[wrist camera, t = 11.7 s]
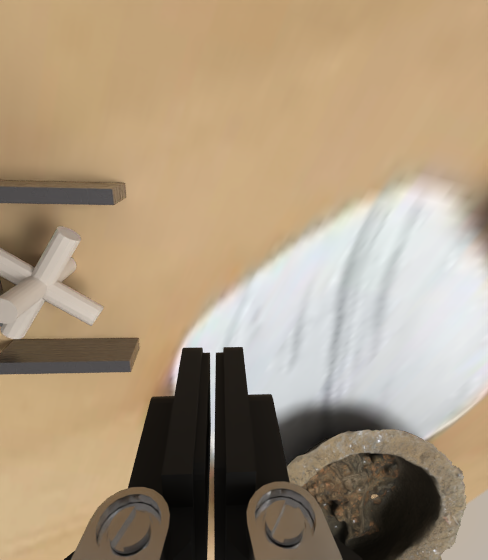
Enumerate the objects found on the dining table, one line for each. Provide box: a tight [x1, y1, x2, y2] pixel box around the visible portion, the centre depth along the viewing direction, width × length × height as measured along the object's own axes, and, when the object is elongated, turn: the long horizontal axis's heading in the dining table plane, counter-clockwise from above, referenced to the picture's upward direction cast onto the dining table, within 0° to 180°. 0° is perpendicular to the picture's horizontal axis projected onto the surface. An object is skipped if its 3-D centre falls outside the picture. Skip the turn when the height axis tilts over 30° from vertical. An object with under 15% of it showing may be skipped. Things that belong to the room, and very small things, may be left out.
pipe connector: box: [0, 226, 104, 339], centre depth 28 cm, size 10×10×10 cm
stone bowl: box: [287, 429, 466, 560], centre depth 41 cm, size 25×25×9 cm
